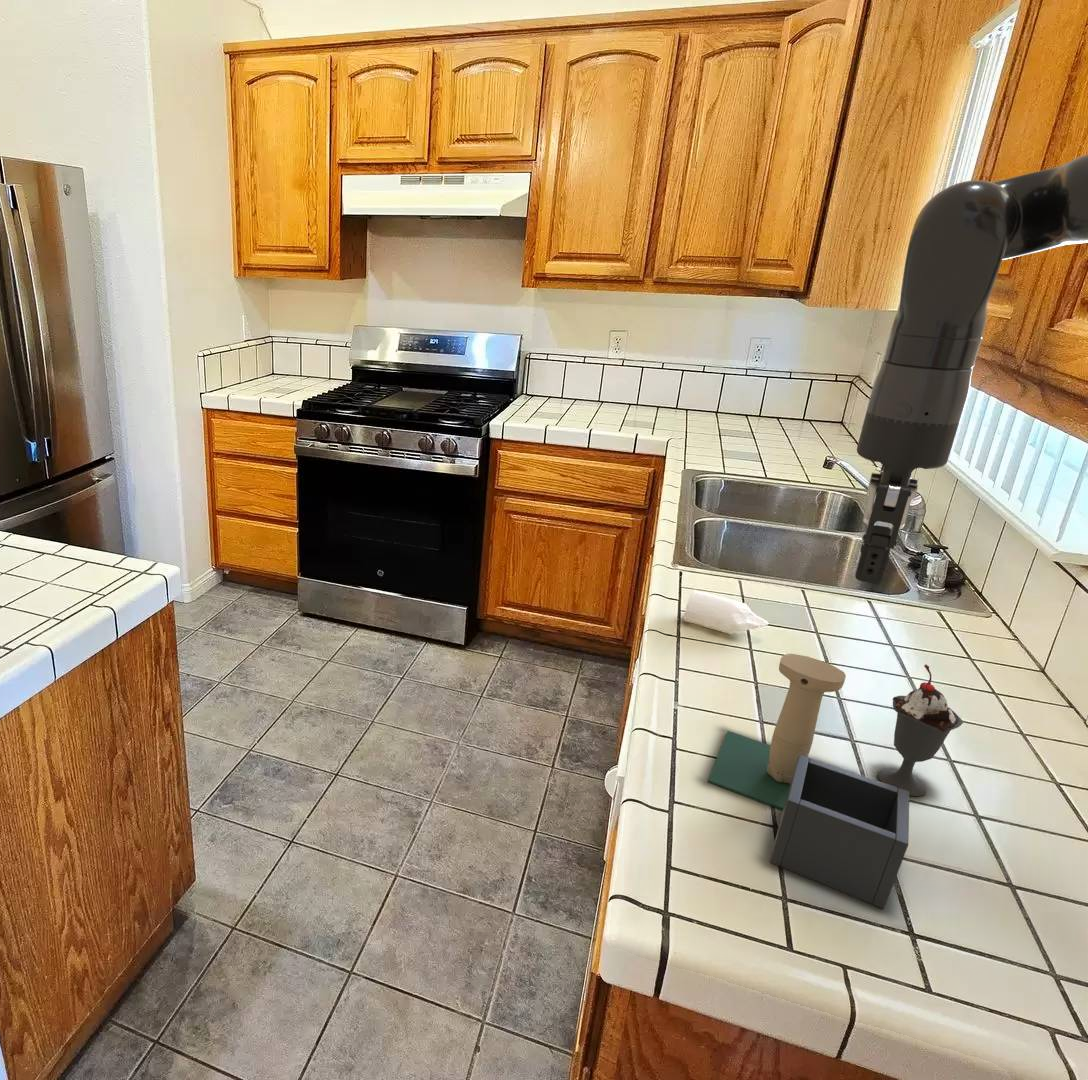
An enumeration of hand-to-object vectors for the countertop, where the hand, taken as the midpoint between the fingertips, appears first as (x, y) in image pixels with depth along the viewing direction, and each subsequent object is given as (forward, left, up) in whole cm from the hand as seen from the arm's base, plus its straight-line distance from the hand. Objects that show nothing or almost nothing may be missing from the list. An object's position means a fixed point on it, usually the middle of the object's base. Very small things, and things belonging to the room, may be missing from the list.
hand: (869, 567), depth 78 cm
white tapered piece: (+15, -36, -29) cm, 49 cm away
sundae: (-10, -8, -29) cm, 31 cm away
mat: (+2, 0, -28) cm, 28 cm away
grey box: (-4, +11, -28) cm, 30 cm away
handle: (+2, 0, -28) cm, 28 cm away
